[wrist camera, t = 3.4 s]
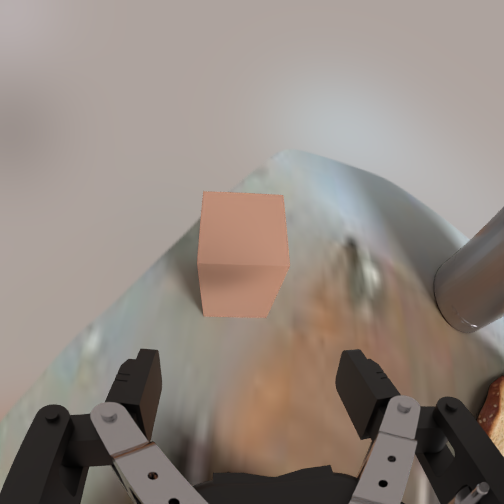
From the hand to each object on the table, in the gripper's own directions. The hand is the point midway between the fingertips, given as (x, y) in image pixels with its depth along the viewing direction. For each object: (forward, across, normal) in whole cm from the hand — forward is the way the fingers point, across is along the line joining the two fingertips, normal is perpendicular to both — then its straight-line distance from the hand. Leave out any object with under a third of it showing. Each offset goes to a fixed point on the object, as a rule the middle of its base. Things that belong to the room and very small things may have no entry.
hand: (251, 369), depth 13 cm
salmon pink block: (+16, 0, +2) cm, 16 cm away
